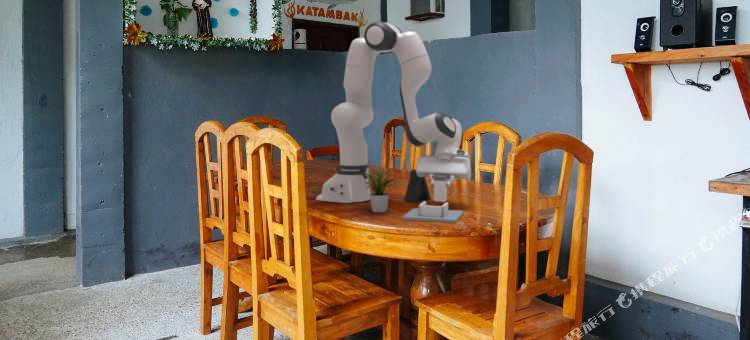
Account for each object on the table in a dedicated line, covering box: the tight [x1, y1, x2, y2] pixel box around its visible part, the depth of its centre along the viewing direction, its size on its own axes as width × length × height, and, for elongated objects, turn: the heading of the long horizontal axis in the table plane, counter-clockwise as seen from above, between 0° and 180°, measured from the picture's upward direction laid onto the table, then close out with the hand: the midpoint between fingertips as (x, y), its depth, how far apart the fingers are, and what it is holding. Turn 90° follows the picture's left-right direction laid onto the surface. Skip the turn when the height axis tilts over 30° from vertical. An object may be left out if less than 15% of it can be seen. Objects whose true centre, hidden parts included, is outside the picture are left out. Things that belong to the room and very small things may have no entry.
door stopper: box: [403, 169, 432, 203], centre depth 225 cm, size 9×6×12 cm, turn 126°
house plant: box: [365, 166, 399, 213], centre depth 203 cm, size 14×14×16 cm
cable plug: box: [433, 175, 448, 203], centre depth 206 cm, size 4×4×9 cm
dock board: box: [402, 201, 465, 224], centre depth 194 cm, size 18×15×4 cm
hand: (440, 186), depth 206 cm, fingers closed on cable plug, 4 cm apart
